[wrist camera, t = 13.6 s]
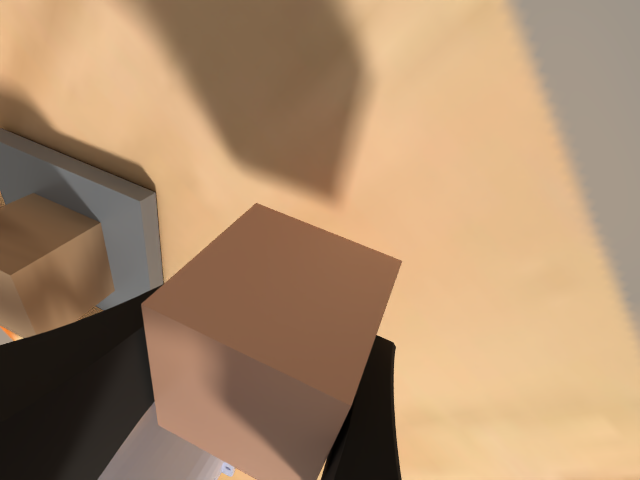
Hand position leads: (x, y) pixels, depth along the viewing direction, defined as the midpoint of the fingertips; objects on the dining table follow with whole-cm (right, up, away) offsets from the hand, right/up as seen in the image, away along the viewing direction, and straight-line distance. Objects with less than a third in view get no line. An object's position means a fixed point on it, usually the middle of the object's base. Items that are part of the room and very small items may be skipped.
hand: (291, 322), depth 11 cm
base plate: (-13, +3, +11) cm, 17 cm away
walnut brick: (-13, +2, +10) cm, 17 cm away
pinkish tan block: (+1, +1, +1) cm, 1 cm away
